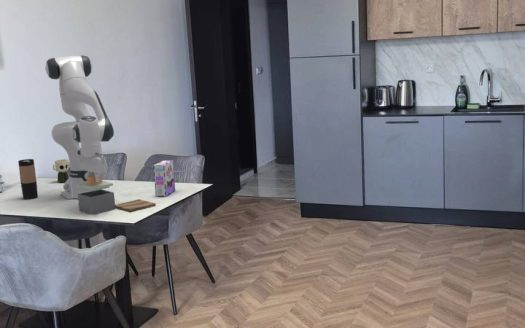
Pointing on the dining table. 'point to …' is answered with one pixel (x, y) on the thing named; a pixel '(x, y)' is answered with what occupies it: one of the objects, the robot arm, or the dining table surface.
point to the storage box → (96, 201)
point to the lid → (94, 184)
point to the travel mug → (28, 179)
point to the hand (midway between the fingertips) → (94, 181)
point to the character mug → (61, 169)
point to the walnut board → (134, 205)
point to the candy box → (164, 178)
